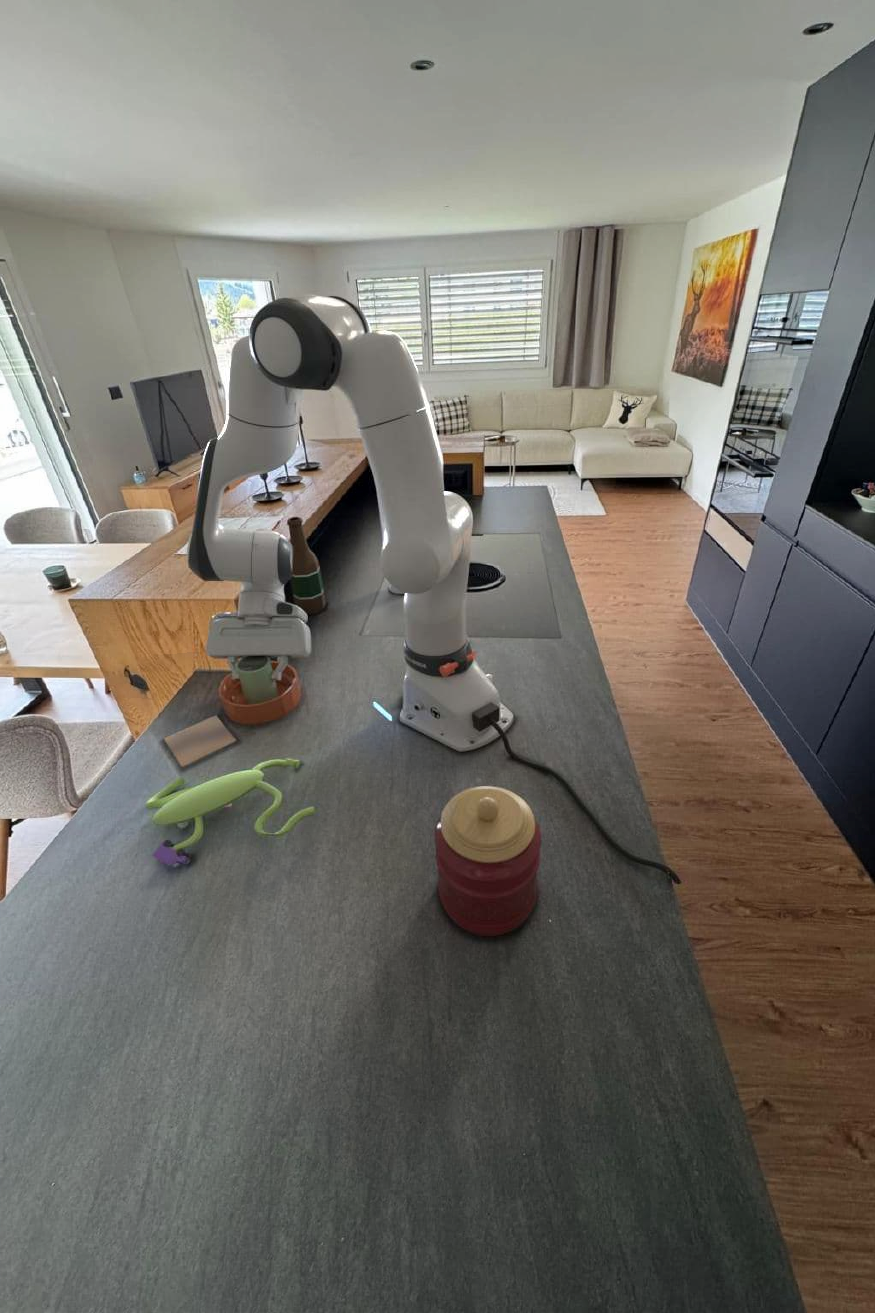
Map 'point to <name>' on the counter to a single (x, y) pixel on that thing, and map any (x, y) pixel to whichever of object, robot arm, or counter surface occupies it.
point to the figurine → (214, 806)
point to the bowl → (264, 711)
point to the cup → (256, 679)
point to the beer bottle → (305, 571)
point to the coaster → (199, 740)
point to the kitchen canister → (487, 860)
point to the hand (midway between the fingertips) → (256, 680)
